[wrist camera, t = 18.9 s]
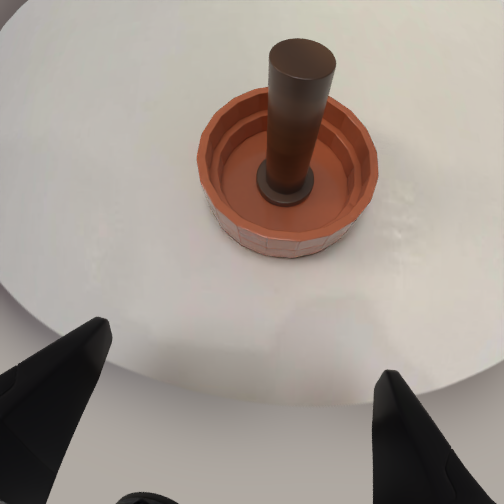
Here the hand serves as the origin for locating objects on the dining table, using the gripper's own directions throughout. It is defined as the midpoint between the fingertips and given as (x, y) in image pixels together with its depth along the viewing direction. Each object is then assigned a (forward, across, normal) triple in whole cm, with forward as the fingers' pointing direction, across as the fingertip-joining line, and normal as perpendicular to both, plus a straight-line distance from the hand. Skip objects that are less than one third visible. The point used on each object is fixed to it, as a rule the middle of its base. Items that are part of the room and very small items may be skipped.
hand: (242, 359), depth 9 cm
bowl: (+18, 0, +1) cm, 18 cm away
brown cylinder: (+18, 0, 0) cm, 18 cm away
